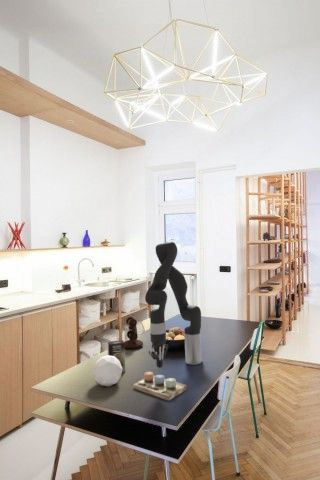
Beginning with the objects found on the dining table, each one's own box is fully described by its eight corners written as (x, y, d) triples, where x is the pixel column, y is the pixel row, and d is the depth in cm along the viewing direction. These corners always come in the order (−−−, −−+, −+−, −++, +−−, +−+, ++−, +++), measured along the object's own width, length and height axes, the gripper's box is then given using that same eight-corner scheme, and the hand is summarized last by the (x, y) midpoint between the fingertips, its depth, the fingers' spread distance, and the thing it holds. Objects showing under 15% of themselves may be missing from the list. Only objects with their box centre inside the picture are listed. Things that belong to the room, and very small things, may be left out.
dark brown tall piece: (146, 348, 225) (144, 318, 225) (125, 351, 220) (123, 321, 220) (139, 342, 239) (138, 314, 239) (119, 345, 233) (118, 317, 234)
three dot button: (158, 378, 164) (158, 374, 164) (166, 381, 161) (166, 376, 161) (152, 382, 161) (152, 377, 161) (160, 384, 157) (159, 379, 157)
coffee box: (109, 374, 182) (108, 344, 182) (108, 369, 188) (107, 341, 189) (125, 371, 185) (124, 342, 185) (124, 367, 191) (123, 339, 191)
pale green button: (170, 382, 160) (169, 377, 160) (178, 384, 157) (178, 379, 157) (163, 385, 156) (163, 380, 156) (171, 388, 153) (171, 383, 153)
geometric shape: (100, 395, 168) (83, 370, 170) (122, 376, 178) (105, 353, 180) (110, 390, 157) (91, 363, 160) (132, 370, 167) (114, 345, 170)
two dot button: (148, 375, 169) (148, 370, 169) (155, 377, 166) (155, 373, 166) (141, 378, 165) (141, 374, 165) (149, 381, 162) (149, 376, 162)
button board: (152, 378, 173) (152, 373, 173) (186, 389, 159) (186, 383, 159) (133, 388, 163) (133, 382, 163) (168, 400, 148) (168, 394, 148)
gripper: (160, 327, 169) (162, 361, 168) (143, 333, 158) (144, 370, 158) (172, 329, 164) (174, 364, 164) (155, 336, 154) (156, 373, 154)
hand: (159, 367), depth 161 cm, fingers closed
